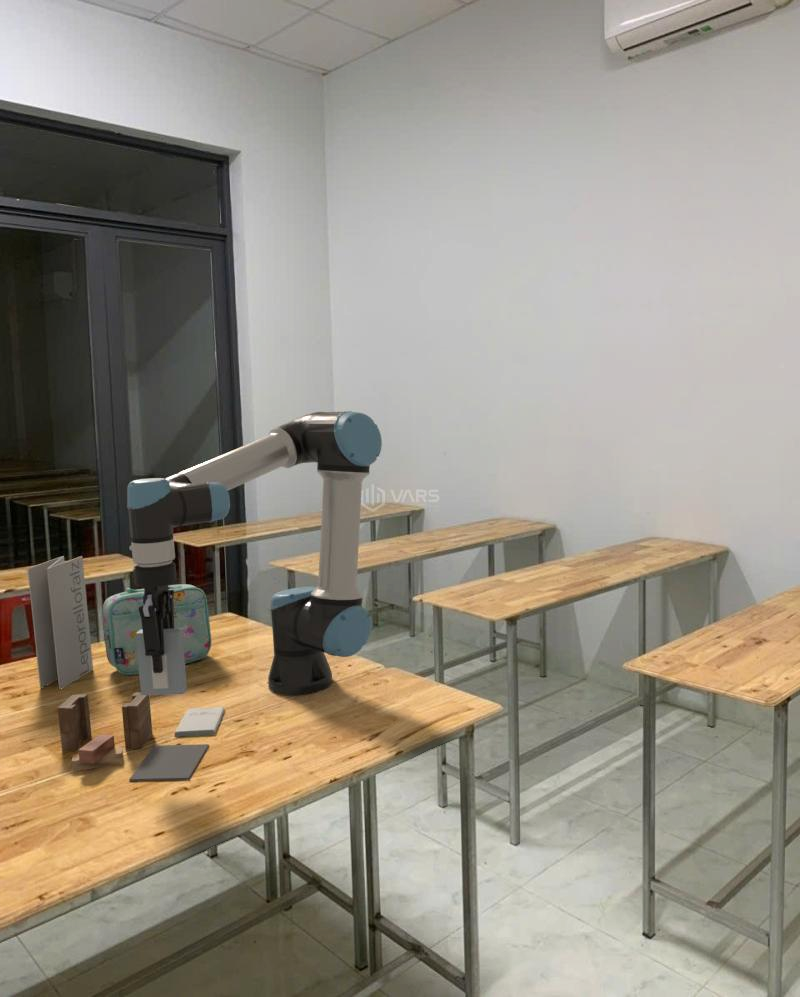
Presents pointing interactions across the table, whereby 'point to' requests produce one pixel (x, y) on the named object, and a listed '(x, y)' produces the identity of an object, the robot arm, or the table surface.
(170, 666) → the grey upright panel
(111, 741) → the mahogany offcut
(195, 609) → the lunch box
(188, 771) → the mat
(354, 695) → the table surface
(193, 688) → the table surface
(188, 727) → the external hard drive
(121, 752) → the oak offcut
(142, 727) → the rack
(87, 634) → the brochure
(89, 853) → the table surface
